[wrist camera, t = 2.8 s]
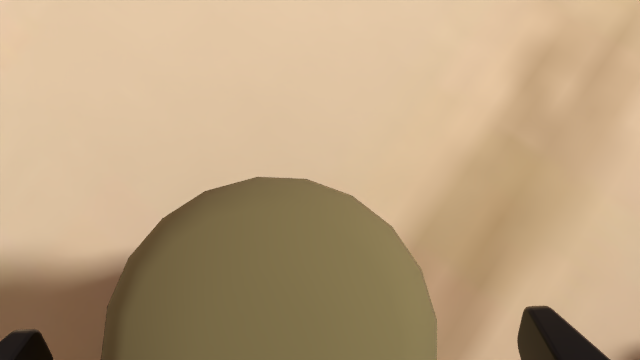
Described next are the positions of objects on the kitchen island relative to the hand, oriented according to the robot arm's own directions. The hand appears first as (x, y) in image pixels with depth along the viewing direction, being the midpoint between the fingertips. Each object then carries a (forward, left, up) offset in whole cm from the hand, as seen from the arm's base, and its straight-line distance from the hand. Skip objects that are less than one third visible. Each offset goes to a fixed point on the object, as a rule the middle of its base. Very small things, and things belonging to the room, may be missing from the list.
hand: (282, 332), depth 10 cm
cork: (0, 0, -8) cm, 8 cm away
